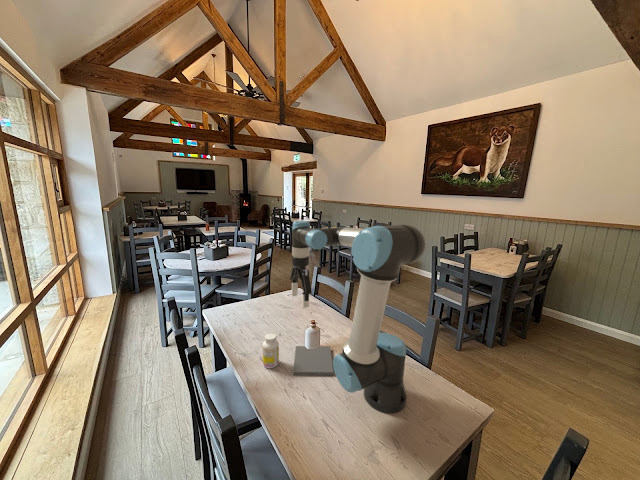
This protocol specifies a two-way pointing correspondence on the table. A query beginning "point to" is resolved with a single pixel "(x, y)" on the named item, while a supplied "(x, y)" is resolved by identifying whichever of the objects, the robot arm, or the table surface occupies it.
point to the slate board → (313, 361)
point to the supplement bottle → (270, 351)
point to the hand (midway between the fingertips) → (299, 301)
